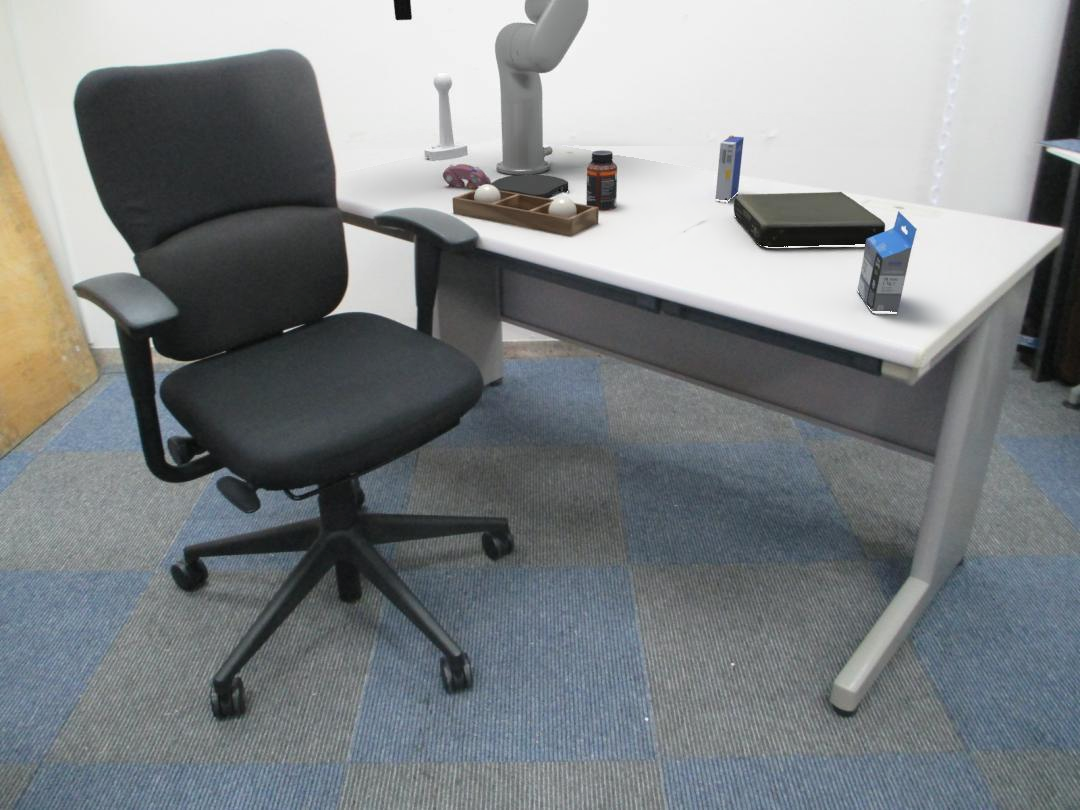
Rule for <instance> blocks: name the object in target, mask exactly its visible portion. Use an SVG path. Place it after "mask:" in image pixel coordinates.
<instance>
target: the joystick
mask: <svg viewBox="0 0 1080 810" xmlns="http://www.w3.org/2000/svg"><path fill="white" fill-rule="evenodd" d="M452 79H453V78H452V77H451V76H450V74H448V73H446V72H439V73H437V74H436V75H435V76H434V78H433V86H434V87H435V90H436V91H437V93H438V115H439V116H438V117H439V118H438V120H439V121H438V123H439V125H438V126H439V144H433V145H431V148H428V149H427V148H425V149H424V150H423V151H424V158H425V159H427V158H428V161H430V160H431V161H430V162H437V161H436V160H438V161H445V160H451V159H452V160H453V159H457V158H461V157H464V156H468V145H467V144H463V143H457V144H455V142H454V141H455V140H454V133H453V124H452V123H453V122H452V114H451V106H450V96H449V91H450V90H451V88H452V86H453V80H452Z"/></svg>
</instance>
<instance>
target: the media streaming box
mask: <svg viewBox="0 0 1080 810" xmlns="http://www.w3.org/2000/svg"><path fill="white" fill-rule="evenodd" d="M490 185H493V186H495V187H496V188H497V189H498V190H501V191H507V192H513V193H519V194H525V195H530V196H536V197H542V198H548V199H551V198H552V197H554V196H556V195H559V194H560V193H562V194H563V193H565V194H567V193H566V192H567V191H568V192H569V182H568V180H566V179H563V178H560V177H557V176H553V175H547V174H530V175H507V176H503V177H500V178H498V179H496V180H494V181H492V182H491V184H490Z"/></svg>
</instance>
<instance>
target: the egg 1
mask: <svg viewBox="0 0 1080 810" xmlns="http://www.w3.org/2000/svg"><path fill="white" fill-rule="evenodd" d="M475 190H476V192H475V194H474V201H479V202H485V203H490V204H491V203H494V202H497V201H499V200H501V195H500V192H499V190H498V189H497V188H496V187H495V186H493V185H490V184H485V185H482V186H478V187H477V188H476V189H475Z"/></svg>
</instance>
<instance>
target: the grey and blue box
mask: <svg viewBox="0 0 1080 810" xmlns="http://www.w3.org/2000/svg"><path fill="white" fill-rule="evenodd" d="M902 227H903V228H905V230H906V232H907V233H906V232H904V231H903V229H902ZM917 231H918V230H917V228H916V227H915V226H914V225H913V224H912V223H911V222H910V221H909V219H907V218H906V217H905V216H904V215H903V214H902V213H901V212H900V211H899V210H898V211H897V214H896V219H895V222H894V226H893V228H890V229H888V230H885V232H882V233H880V234H877V235H875V236H872V237H870V238H867V239H866V244H865V248H864V252H863V256H862V263H861V269H860V274H859V281H858V285H857V289H858V291H859V293H860V294H861V296H862V297H863V299H864V301H865V302H866V303H867V305H868V306H869V307H870V309H871V310H872V311H890V312H891V311H892V312H898V313H899V309H900V304H901V299H902V294H903V291H904V286H905V285H904V284H905V281H906V276H907V272H908V271H907V270H908V268H909V267H908V266H909V262H910V261H909V260H910V257H911V253H912V248H913V245H914V241H915V237H916V233H917ZM859 293H858V294H859ZM861 296H860V297H861ZM863 299H862V300H863ZM864 301H863V302H864ZM865 302H864V303H865ZM867 305H866V306H867Z"/></svg>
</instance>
